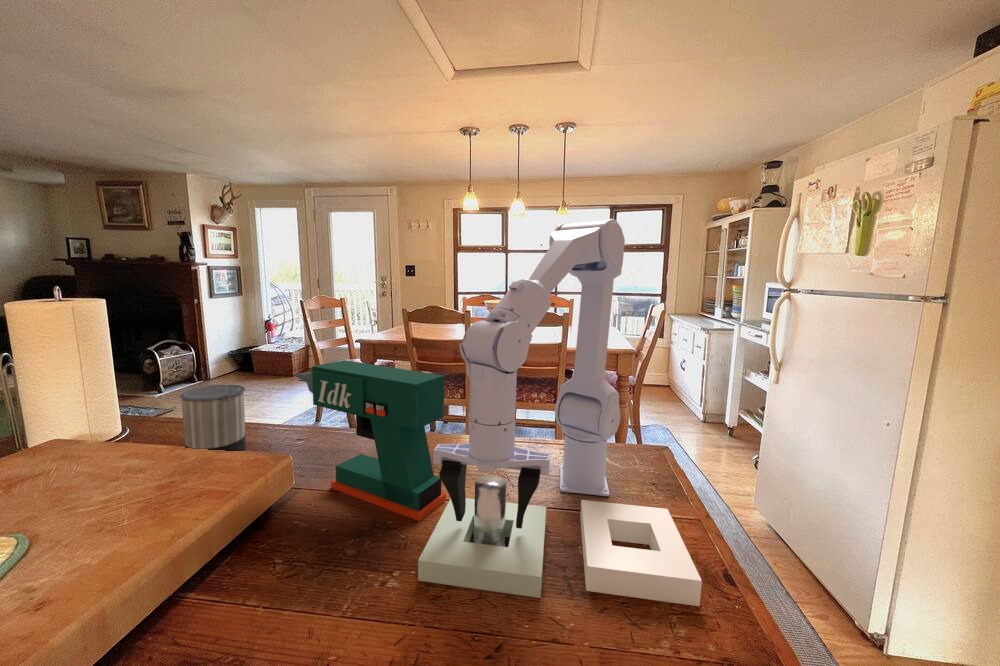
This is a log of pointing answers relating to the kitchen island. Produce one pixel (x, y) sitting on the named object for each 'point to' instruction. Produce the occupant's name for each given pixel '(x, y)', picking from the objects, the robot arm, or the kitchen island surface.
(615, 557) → the cream square-hole board
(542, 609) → the kitchen island surface
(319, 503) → the kitchen island surface
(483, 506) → the steel peg
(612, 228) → the robot arm
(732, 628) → the kitchen island surface
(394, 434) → the power tool
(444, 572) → the socket block
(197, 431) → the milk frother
